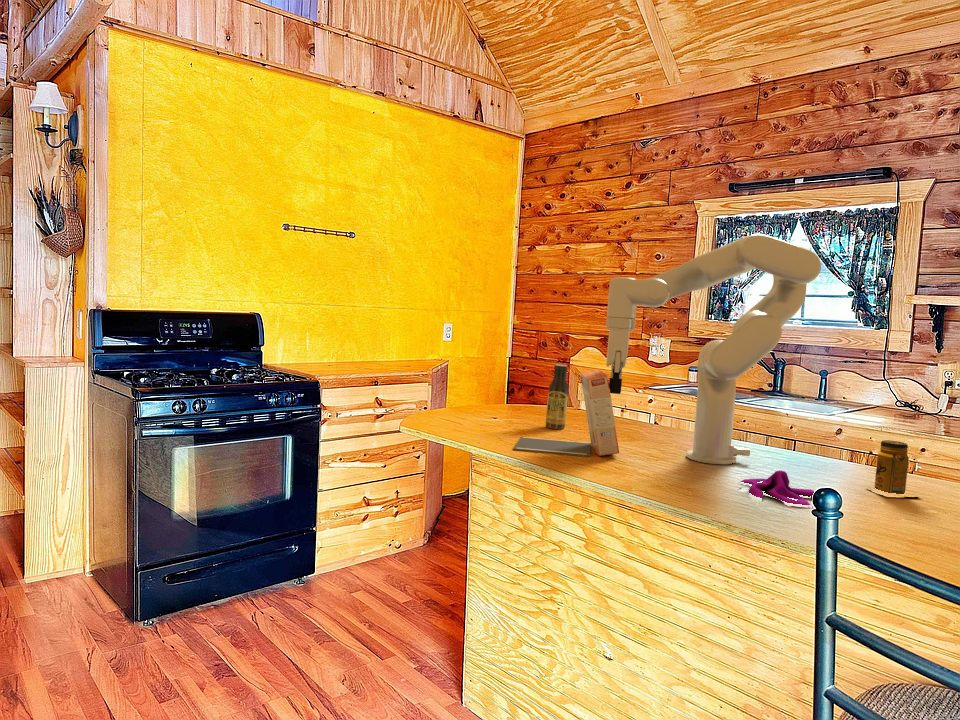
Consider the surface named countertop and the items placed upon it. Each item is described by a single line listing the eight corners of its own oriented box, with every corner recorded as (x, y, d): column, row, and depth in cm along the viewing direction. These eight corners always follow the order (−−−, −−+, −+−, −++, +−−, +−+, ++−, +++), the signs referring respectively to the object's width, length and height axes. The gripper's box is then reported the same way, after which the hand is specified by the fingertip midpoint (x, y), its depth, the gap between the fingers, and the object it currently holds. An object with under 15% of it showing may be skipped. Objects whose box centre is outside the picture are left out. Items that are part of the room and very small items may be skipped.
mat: (591, 444, 195) (591, 442, 195) (589, 456, 179) (589, 455, 179) (520, 438, 198) (520, 436, 198) (513, 450, 183) (513, 448, 182)
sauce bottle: (543, 428, 214) (547, 365, 212) (547, 425, 220) (551, 363, 218) (564, 430, 212) (568, 366, 210) (567, 427, 218) (571, 364, 216)
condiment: (865, 489, 160) (870, 438, 159) (899, 490, 161) (904, 439, 160) (886, 498, 153) (892, 445, 152) (922, 499, 154) (928, 446, 153)
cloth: (746, 479, 166) (748, 454, 165) (830, 497, 154) (833, 470, 154) (713, 498, 148) (715, 470, 148) (806, 519, 137) (809, 489, 136)
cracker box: (621, 453, 179) (608, 374, 177) (598, 457, 179) (585, 378, 177) (612, 441, 193) (600, 368, 191) (590, 445, 193) (578, 372, 191)
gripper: (606, 322, 190) (600, 388, 192) (606, 324, 176) (599, 395, 178) (634, 324, 189) (628, 390, 191) (636, 326, 175) (629, 398, 176)
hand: (614, 393), depth 184 cm, fingers closed
